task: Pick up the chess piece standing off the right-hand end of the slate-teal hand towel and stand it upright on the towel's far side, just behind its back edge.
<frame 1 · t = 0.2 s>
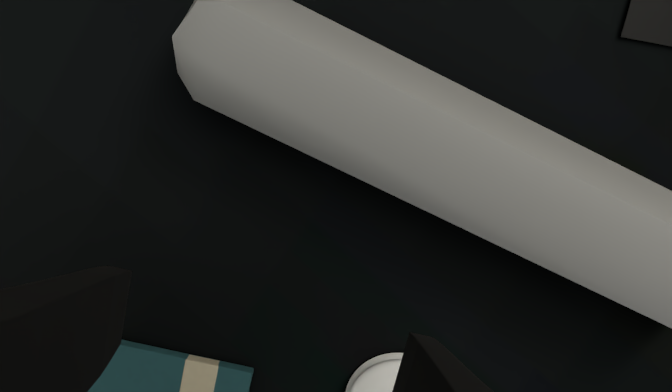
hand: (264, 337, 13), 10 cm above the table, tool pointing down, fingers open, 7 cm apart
tube: (464, 158, 22), on the table
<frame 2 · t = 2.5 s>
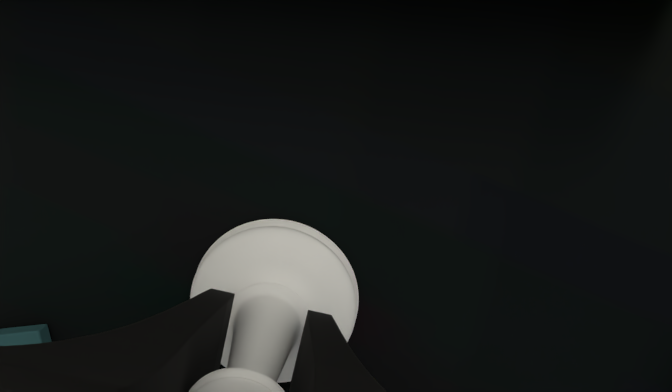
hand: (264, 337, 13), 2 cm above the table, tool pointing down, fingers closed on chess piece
chess piece: (276, 295, 15), on the table, touching gripper
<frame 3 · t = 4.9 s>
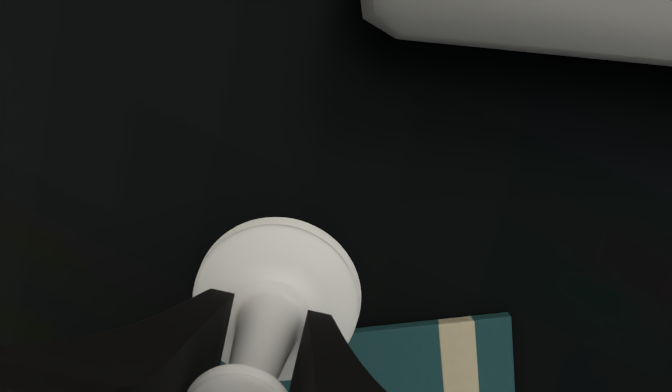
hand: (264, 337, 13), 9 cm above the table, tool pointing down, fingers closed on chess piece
tube: (670, 10, 20), on the table
chess piece: (279, 293, 15), point 7 cm above the table, touching gripper
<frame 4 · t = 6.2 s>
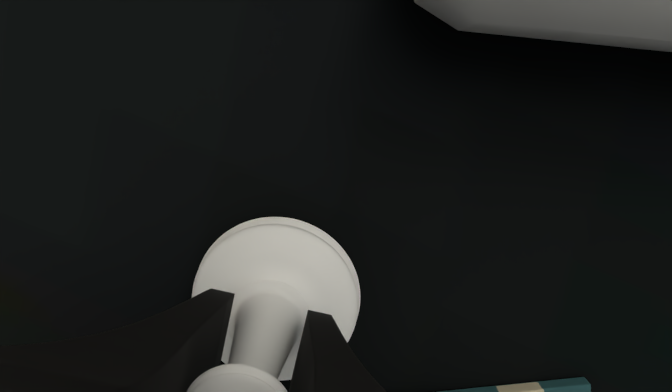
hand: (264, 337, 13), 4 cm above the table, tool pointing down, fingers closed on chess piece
chess piece: (278, 293, 15), point 2 cm above the table, touching gripper
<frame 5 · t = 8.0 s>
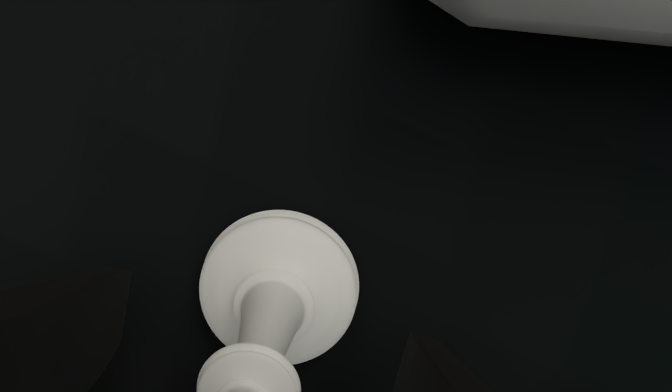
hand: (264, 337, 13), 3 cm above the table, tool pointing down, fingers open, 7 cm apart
chess piece: (281, 282, 16), on the table
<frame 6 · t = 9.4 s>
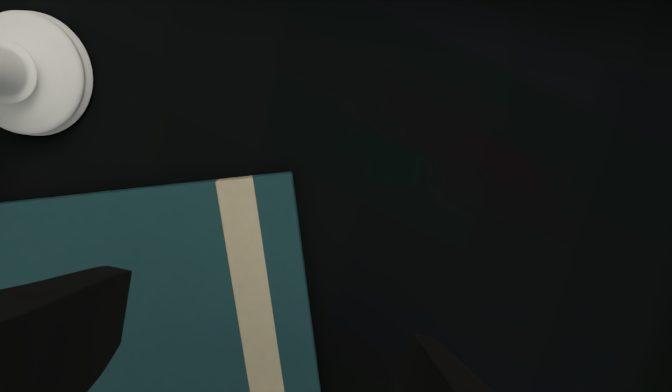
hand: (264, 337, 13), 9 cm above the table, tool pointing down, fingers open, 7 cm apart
chess piece: (36, 75, 20), on the table
towel: (93, 333, 23), on the table
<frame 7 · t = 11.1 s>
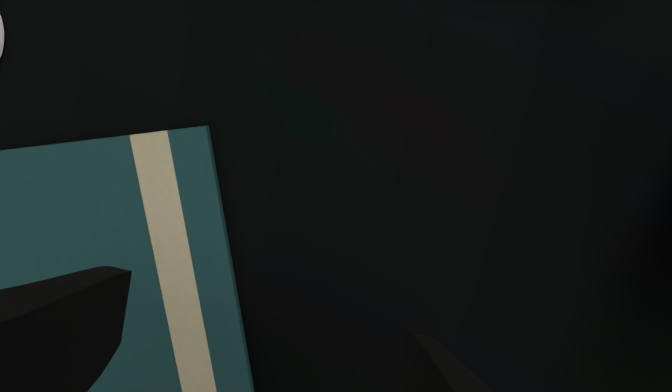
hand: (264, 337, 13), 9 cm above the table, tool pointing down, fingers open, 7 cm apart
towel: (15, 295, 22), on the table
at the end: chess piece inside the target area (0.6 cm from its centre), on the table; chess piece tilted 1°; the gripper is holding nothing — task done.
